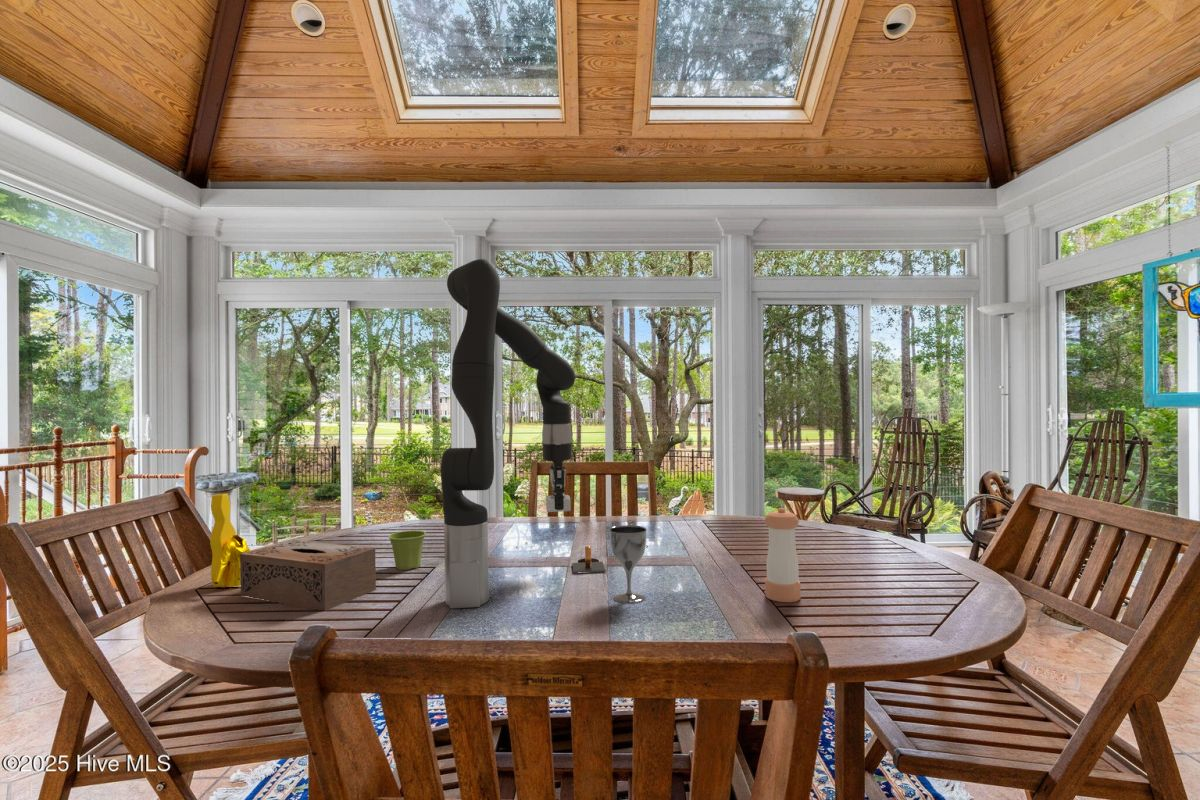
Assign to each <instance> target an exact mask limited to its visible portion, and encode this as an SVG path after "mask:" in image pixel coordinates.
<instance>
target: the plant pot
mask: <svg viewBox="0 0 1200 800" xmlns="http://www.w3.org/2000/svg"><path fill="white" fill-rule="evenodd" d="M426 535H427V533H426V531H422V530H404V531H403V530H402V531H397V532H394V533H390V534H389V535H388V536H387V537H388V539H389V541H390V544H391V547H392V552H393V560H394V564H395V568H396V569H398V570H399V571H409V570H411V569H418V568H419V567H420V566H421V562H422V561H421V560H422V553H423V552H422V551H423V546H424V545H423V544H424V540H425V536H426Z"/></svg>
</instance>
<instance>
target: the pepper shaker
mask: <svg viewBox="0 0 1200 800" xmlns="http://www.w3.org/2000/svg"><path fill="white" fill-rule="evenodd" d="M799 522H800V521H799V518H798V516H797V515H796V514H794V513H793V512H790V511H789V510H788V511H787V510H786V509H785V508H783V507H779V508H777V510H774V511H771V512H769V513H766V516H765V517H764V523H765V525H766V526H767V527H768V548H767V549H768V550H767V558H766V563H765V564H766V565H765V566H766V578H765V580H764V582H765V583H764V587H765V589H764V591H765V592H764V593H765V597H766V598H767V599H769V600H772V601H775V602H781V603H793V602H797V601H799V600H800V601H801V598H802V597H801V580H800V579H799V559H798V555H797V550H796V549H797V548H796V528H797V527H798V526H799V524H800V523H799Z"/></svg>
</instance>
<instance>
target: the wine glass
mask: <svg viewBox="0 0 1200 800" xmlns="http://www.w3.org/2000/svg"><path fill="white" fill-rule="evenodd" d="M609 540H610V547H611V551H612V555H613V557H614V558H615V559H616V561H617V562H618V563H619V564H620V565H621V566H622V567H623V570H624V572H625V575H626V576H625V577H626V586H627V587H626V588H627V589H626V592H621V593H617V594H615V595H613V597H612V599H613V601H614V602H616V603H621V604H626V605H627V604H628V605H630V604H632V605H633V604H638V603H641V602H644V601H645V600H646V596H645V595H644V594H641V593H637V592H632V588H631V587H632V584H631V583H632V573H633V570H634V568H635V567H636V565H638V563H639V562H640V561H641V559H642V558H643V556H644V554H645V551H646V546H647V528H646V527H644V526H639V525H626V524H624V525H619V526H618V525H617V526H613V527H611V528H610V529H609Z"/></svg>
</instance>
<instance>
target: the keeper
mask: <svg viewBox="0 0 1200 800" xmlns="http://www.w3.org/2000/svg"><path fill="white" fill-rule="evenodd" d="M584 554H585V555H584V558H585V559H584V562H571V566H573V568H572V570H573V572H574V573H578V572H606V571H607V570H606V568H605V565H604V562H603V561H592V546H591V545H586V546H584ZM574 573H573V574H574Z"/></svg>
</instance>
